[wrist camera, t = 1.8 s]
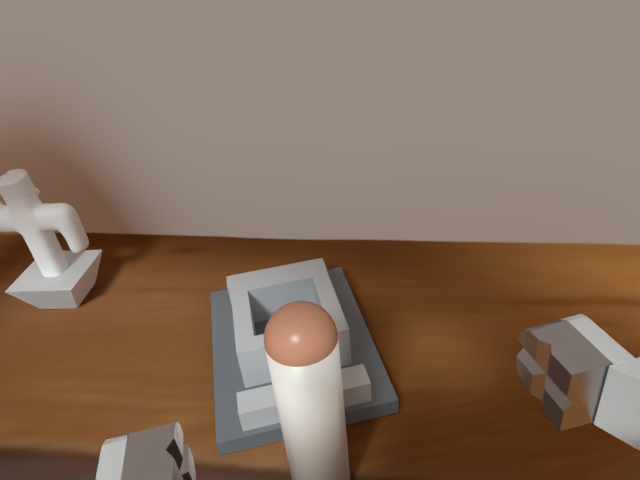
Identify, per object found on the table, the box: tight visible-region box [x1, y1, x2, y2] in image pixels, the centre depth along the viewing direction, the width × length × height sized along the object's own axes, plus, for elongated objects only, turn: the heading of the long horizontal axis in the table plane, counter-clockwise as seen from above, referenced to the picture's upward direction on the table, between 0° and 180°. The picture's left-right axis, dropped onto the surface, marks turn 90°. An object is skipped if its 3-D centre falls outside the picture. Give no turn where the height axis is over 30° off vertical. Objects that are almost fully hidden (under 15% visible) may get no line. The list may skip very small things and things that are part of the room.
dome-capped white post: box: [264, 301, 350, 480], centre depth 29 cm, size 4×4×16 cm
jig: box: [211, 258, 399, 456], centre depth 43 cm, size 18×14×6 cm
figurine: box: [0, 169, 102, 309], centre depth 50 cm, size 7×9×15 cm
